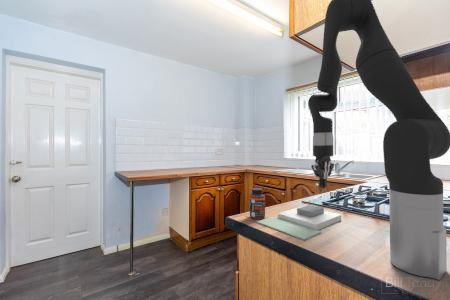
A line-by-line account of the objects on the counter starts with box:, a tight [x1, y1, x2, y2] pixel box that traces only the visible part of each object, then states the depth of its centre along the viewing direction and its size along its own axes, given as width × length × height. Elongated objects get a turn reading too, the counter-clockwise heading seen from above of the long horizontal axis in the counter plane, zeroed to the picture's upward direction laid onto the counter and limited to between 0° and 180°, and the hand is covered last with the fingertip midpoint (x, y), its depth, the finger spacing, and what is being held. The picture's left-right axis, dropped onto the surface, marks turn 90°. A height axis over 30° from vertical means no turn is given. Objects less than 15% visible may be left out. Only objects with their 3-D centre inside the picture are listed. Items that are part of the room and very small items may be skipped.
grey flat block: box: [296, 204, 325, 218], centre depth 85 cm, size 6×8×2 cm
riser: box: [277, 205, 342, 231], centre depth 84 cm, size 16×16×2 cm
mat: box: [256, 216, 322, 241], centre depth 77 cm, size 20×9×1 cm, turn 36°
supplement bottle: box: [249, 187, 266, 220], centre depth 88 cm, size 6×6×11 cm
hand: (323, 187), depth 91 cm, fingers closed
